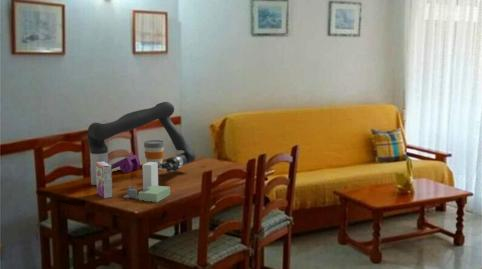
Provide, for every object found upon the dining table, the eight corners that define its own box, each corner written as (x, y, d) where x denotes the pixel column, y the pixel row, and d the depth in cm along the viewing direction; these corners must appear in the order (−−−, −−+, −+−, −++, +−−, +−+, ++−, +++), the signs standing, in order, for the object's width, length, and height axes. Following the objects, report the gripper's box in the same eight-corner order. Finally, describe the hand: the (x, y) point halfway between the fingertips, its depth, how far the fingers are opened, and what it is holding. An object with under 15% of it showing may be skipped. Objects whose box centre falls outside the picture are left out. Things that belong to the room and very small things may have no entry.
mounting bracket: (111, 180, 326) (132, 170, 317) (105, 167, 326) (126, 157, 318) (121, 176, 334) (142, 167, 326) (115, 164, 335) (136, 154, 326)
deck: (137, 191, 280) (136, 182, 279) (170, 194, 274) (170, 186, 273) (122, 198, 267) (122, 189, 266) (156, 202, 261) (156, 193, 260)
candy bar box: (96, 193, 275) (94, 162, 272) (105, 192, 278) (104, 161, 275) (103, 199, 266) (102, 166, 263) (113, 197, 269) (112, 165, 266)
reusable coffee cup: (168, 164, 341) (168, 141, 339) (155, 168, 331) (155, 144, 328) (153, 162, 348) (153, 139, 345) (140, 166, 338) (139, 142, 335)
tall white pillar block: (149, 187, 287) (149, 161, 285) (158, 188, 285) (157, 162, 283) (143, 190, 281) (142, 164, 278) (151, 191, 279) (150, 165, 277)
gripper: (162, 155, 308) (148, 161, 293) (185, 157, 304) (171, 163, 289) (162, 168, 310) (148, 175, 295) (185, 170, 305) (172, 177, 290)
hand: (160, 169), depth 292 cm, fingers open, 8 cm apart
